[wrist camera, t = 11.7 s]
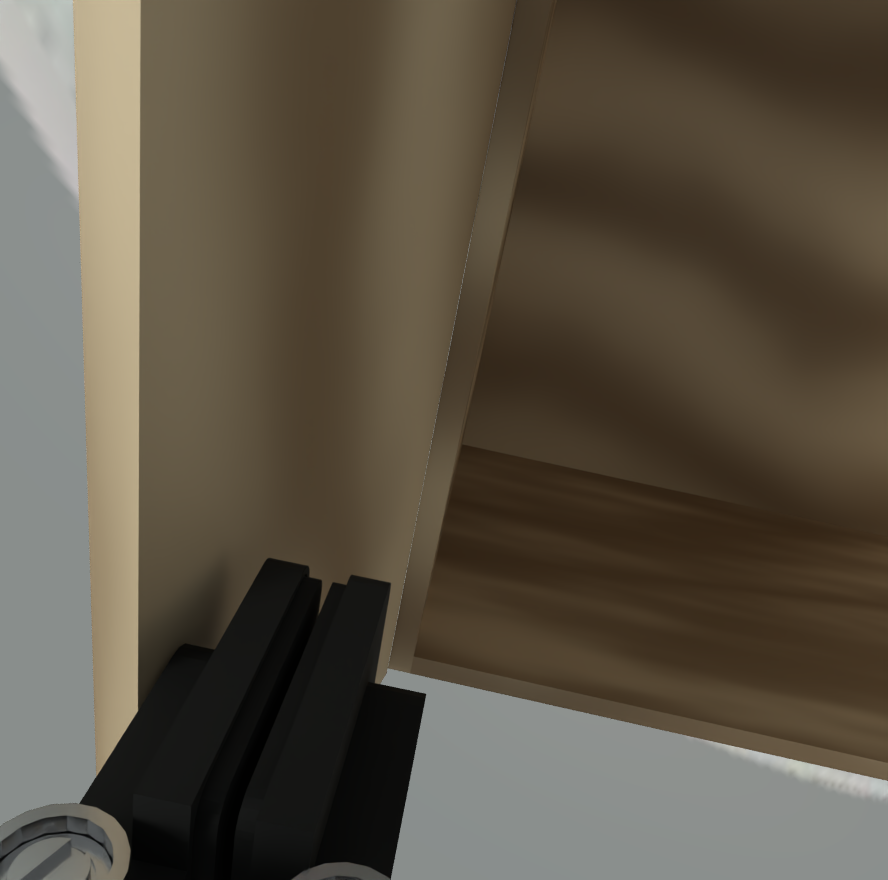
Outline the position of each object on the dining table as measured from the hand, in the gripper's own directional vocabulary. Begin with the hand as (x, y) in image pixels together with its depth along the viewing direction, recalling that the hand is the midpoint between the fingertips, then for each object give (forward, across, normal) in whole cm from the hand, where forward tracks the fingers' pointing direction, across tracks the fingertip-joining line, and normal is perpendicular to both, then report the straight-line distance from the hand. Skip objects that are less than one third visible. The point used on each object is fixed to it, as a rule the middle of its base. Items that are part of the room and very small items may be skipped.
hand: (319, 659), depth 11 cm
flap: (+3, +1, -2) cm, 4 cm away
